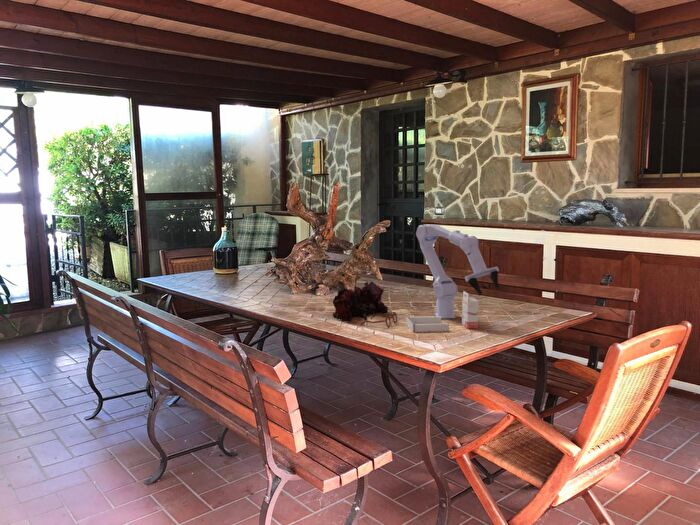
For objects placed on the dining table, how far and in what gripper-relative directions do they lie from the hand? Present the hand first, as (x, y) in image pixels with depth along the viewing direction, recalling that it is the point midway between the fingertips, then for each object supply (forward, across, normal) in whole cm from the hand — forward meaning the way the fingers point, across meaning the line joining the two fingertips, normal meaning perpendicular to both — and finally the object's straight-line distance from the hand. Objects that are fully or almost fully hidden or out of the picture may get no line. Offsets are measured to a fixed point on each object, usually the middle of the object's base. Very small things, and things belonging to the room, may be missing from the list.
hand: (489, 291), depth 227 cm
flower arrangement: (-14, -52, +31) cm, 62 cm away
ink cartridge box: (+10, -11, +9) cm, 17 cm away
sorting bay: (+5, -28, +8) cm, 29 cm away
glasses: (-4, -47, +15) cm, 49 cm away
